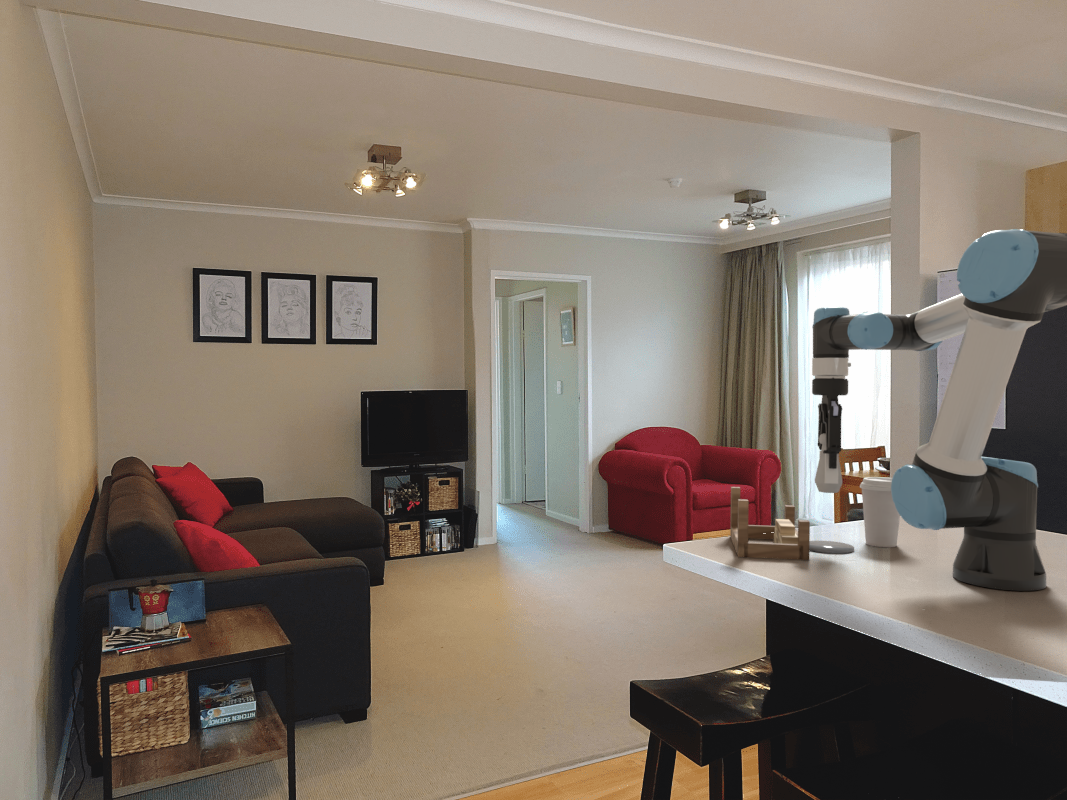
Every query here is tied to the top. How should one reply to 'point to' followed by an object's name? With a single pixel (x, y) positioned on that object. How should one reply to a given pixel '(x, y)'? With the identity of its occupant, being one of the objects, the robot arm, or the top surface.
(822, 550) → the coaster
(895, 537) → the coffee cup
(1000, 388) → the robot arm
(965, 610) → the top surface
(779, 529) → the offcut stack
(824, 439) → the salt shaker
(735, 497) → the rack
